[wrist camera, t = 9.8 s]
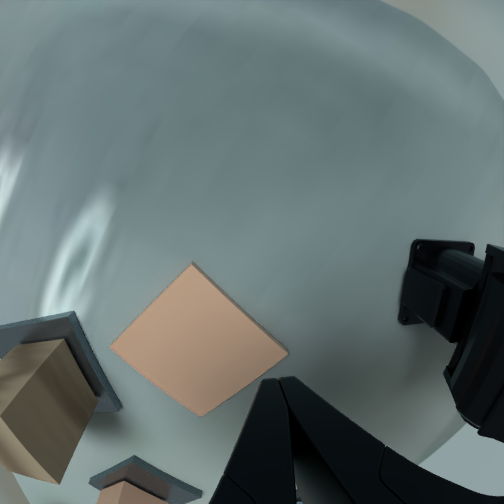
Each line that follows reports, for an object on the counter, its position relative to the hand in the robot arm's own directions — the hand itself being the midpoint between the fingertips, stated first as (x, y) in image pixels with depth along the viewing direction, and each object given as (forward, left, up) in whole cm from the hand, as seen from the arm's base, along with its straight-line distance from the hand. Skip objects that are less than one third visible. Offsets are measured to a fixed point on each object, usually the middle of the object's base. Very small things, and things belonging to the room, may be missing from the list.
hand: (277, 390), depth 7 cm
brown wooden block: (+16, +10, -11) cm, 21 cm away
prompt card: (+4, +6, -12) cm, 14 cm away
